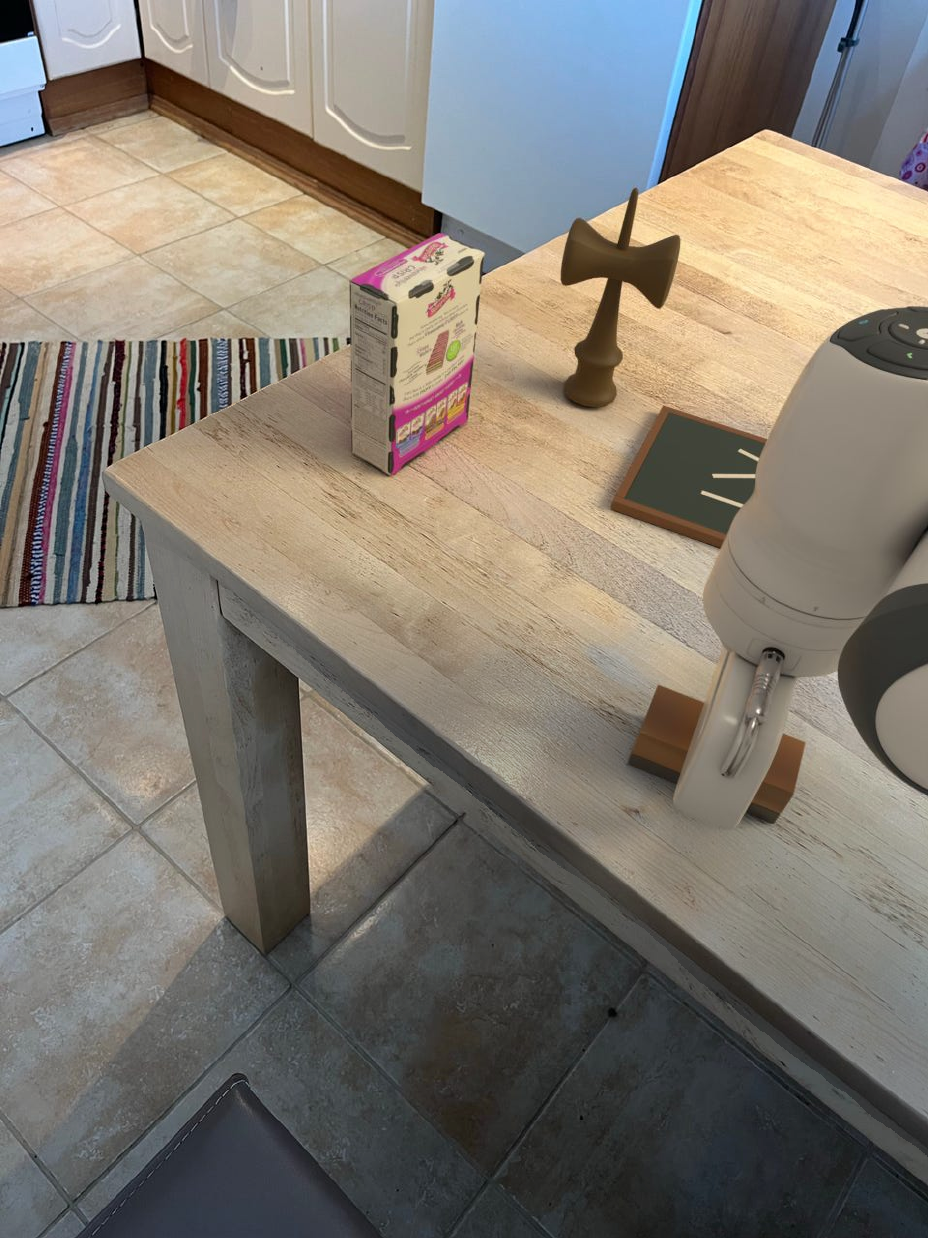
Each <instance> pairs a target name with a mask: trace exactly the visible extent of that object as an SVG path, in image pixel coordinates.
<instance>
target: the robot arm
mask: <svg viewBox="0 0 928 1238" xmlns="http://www.w3.org/2000/svg"><path fill="white" fill-rule="evenodd" d="M766 439H767V441H766V443H765V445H764V448H763V450H762V452H761V455H760V458H759V460H758V463H757V467H756V474H755V488H754V492H753V494H752V496H751V497H750V499H749V500H748V501H747V502H746V503H745V504H744V505H743V506H742V507H741V508H740V510H739V511H738V512H737V514H736V515H735V517H734V519H733V521H732V523H731V525H730V528H729V530H728V533H727V535H726V537H725V539H724V542H723V544H722V546H721V548H719V551H718V553H717V556H716V558H715V561H714V563H713V565H712V568H711V569H710V572H709V575H708V577H707V579H706V582H705V585H704V588H703V591H702V607H703V610H704V614H705V617H706V619H707V621H708V623H709V625H710V627H711V628H712V630H713V631H714V633H715V634H716V635H717V637H718V639H719V641H720V643H721V644H722V649H721V652H720V655H719V657H718V660H717V663H716V666H715V670H714V671H713V672H714V673H713V675H712V678H711V680H710V681H711V682H710V684H709V687H708V690H707V693H706V696H705V700H704V701H703V702H704V705H703V708H702V711H701V714H700V717H699V720H698V723H697V726H696V729H695V732H694V735H693V738H692V741H691V744H690V747H689V750H688V753H687V756H686V759H685V762H684V765H683V768H682V771H681V774H680V777H679V780H678V783H677V784H676V786H675V789H674V793H673V798H672V799H673V800H672V801H673V805H674V807H675V808H676V809H677V810H678V811H679V812H681V813H682V814H684V815H686V816H688V817H690V818H692V819H694V820H696V821H698V822H701V823H703V824H706V825H708V826H711V827H714V828H717V829H720V830H725V831H730V830H733V829H735V828H736V827H738V826H739V824H740V823H741V821H742V820H743V818H744V816H745V814H746V813H747V812H746V810H747V809H748V807H749V805H750V803H751V802H752V800H753V798H754V796H755V794H756V792H757V791H758V789H759V787H760V785H761V783H762V781H763V780H764V778H765V776H766V774H767V772H768V770H769V768H770V766H771V764H772V761H773V759H774V756H775V754H776V752H777V749H778V747H779V744H780V741H781V738H782V735H783V733H784V732H785V727H786V724H787V720H788V716H789V712H790V708H791V704H792V701H793V696H794V692H795V689H796V684H797V681H798V678H816V677H822V676H828V675H830V674H834V673H837V683H838V688H839V693H840V696H841V699H842V702H843V704H844V706H845V710H846V711H847V714H848V716H849V718H850V719H851V722H852V724H853V725H854V727H855V729H856V731H857V732H858V733H859V736H860V737H861V739H862V740H863V742H864V744H865V745H866V746H867V747H868V749H869V750H870V751H871V753H872V754H873V755H874V757H875V758H876V760H878V761H879V762H880V763H881V764H882V766H884V767H885V768H886V769H887V770H888V771H889V772H890V773H891V774H892V775H893V776H895V777H896V778H898V779H899V780H900V781H901V782H903V783H904V784H906V785H907V786H909V787H911V788H912V789H914V790H916V791H917V792H919V793H920V794H922V795H925V796H927V797H928V306H920V305H919V306H917V305H916V306H915V305H909V306H906V307H892V308H882V309H877V310H874V311H871V312H868V313H866V314H864V315H861V316H858V317H856V318H854V319H852V320H850V321H848V322H845V324H842V325H841V326H840V327H839V328H837V329H836V330H834V331H833V332H832V333H831V334H830V335H828V337H826V338H825V339H824V340H823V341H822V342H821V343H820V344H819V346H818V347H817V348H816V350H815V351H814V353H813V354H812V355H811V357H810V358H809V360H808V361H807V363H806V364H805V366H804V367H803V369H802V370H801V372H800V374H799V375H798V377H797V379H796V381H795V383H794V384H793V386H792V388H791V389H790V392H789V393H788V395H787V397H786V399H785V401H784V403H783V405H782V407H781V409H780V411H779V413H778V415H777V417H776V419H775V421H774V423H773V426H772V428H771V430H770V432H769V434H768V436H767V438H766Z"/></svg>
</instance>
